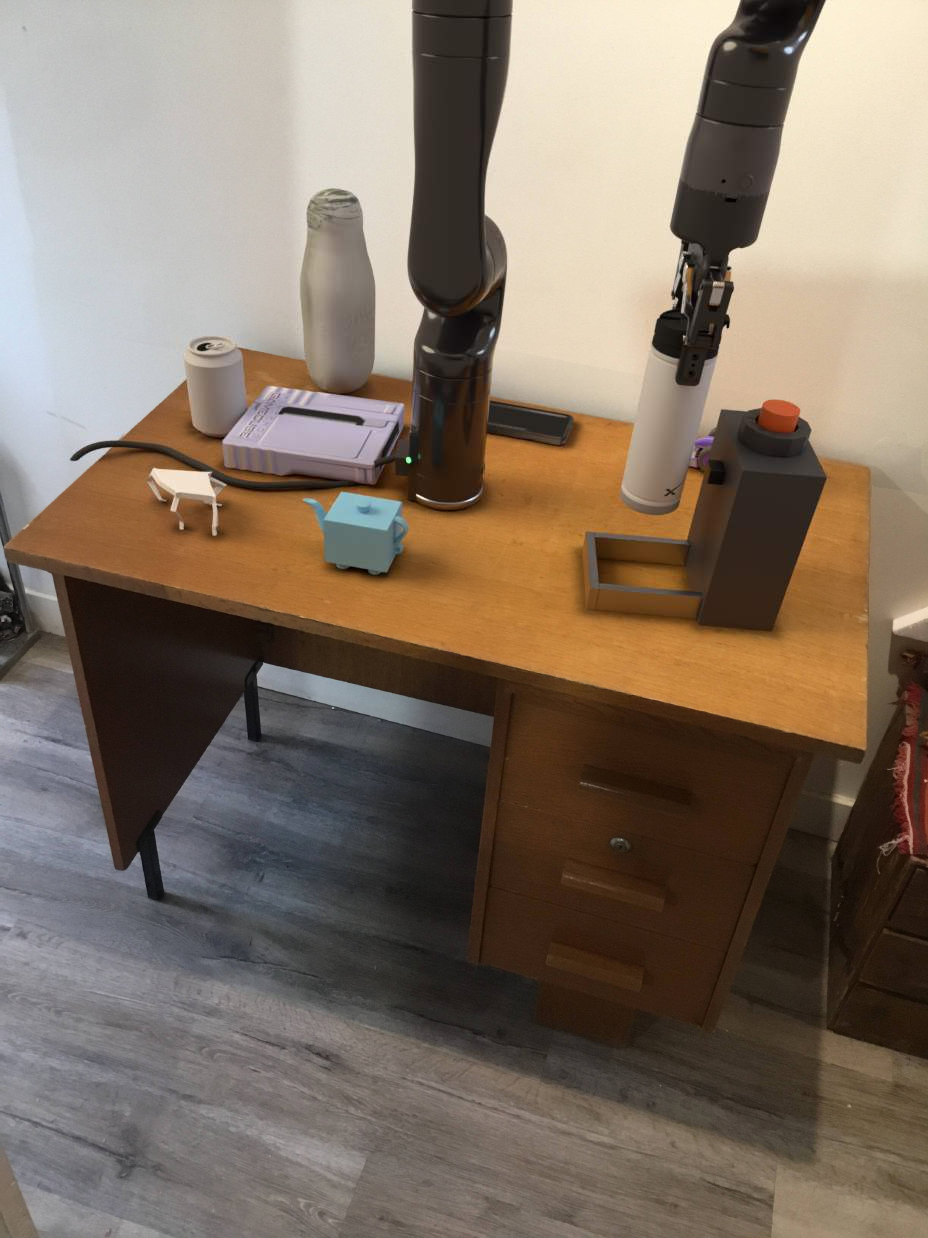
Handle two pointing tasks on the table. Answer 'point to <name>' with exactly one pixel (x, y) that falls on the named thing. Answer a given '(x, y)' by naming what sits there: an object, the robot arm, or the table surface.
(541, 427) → the phone
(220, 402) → the can
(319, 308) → the grey bottle
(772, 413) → the button
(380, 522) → the teapot
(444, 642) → the table surface
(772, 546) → the coffee maker
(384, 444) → the gaming console
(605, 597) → the frame
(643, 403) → the travel mug
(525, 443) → the table surface
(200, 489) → the origami figure
